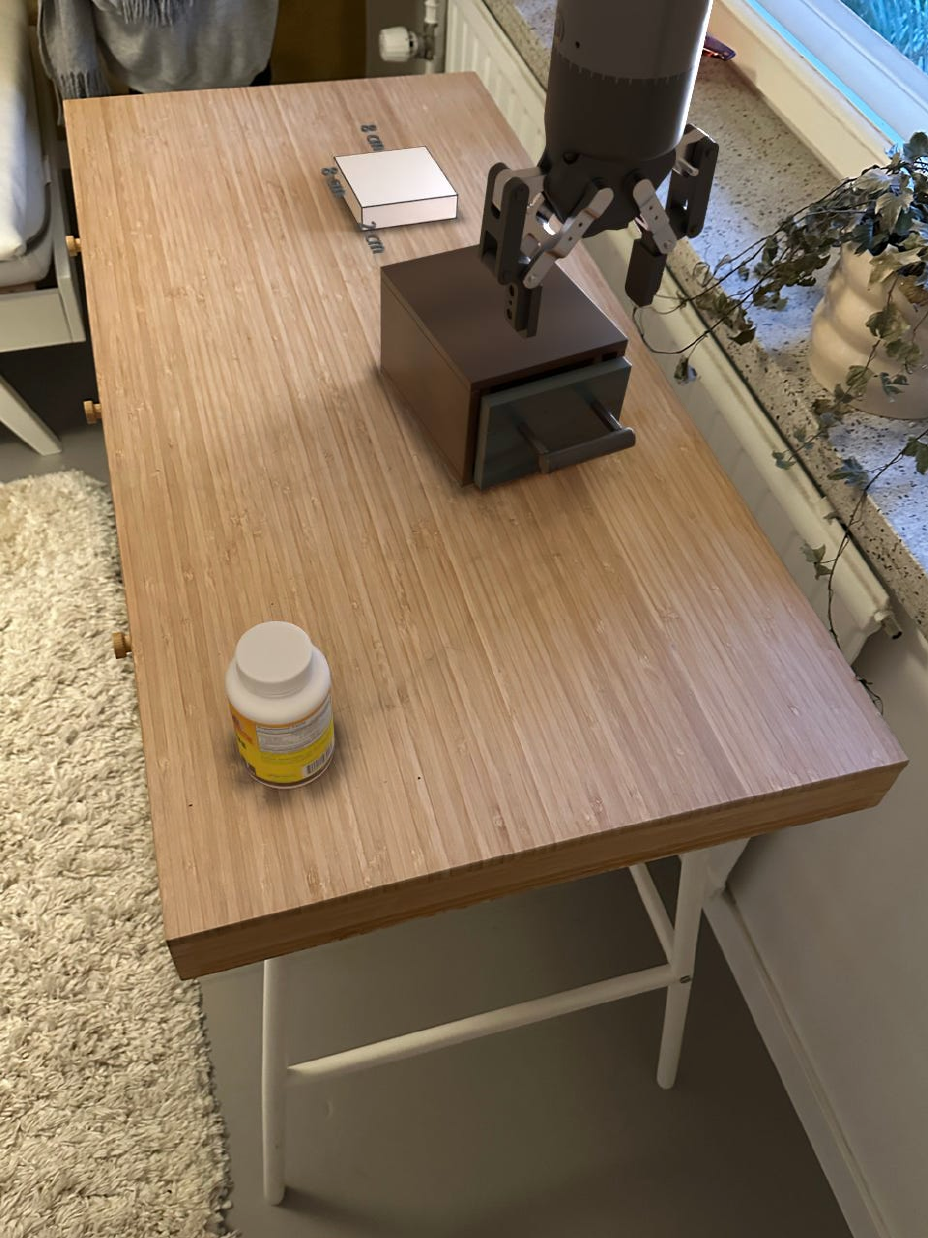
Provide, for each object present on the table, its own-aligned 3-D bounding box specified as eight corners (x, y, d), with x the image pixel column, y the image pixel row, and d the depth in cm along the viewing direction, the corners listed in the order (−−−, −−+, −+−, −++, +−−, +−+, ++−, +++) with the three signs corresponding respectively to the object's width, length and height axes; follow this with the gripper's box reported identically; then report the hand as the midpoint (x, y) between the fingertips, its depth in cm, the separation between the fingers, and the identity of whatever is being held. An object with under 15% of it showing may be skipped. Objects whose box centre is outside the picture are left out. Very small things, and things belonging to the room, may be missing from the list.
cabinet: (605, 441, 79) (628, 338, 72) (461, 487, 75) (470, 383, 68) (514, 335, 87) (527, 232, 80) (380, 371, 83) (379, 266, 75)
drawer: (646, 488, 75) (670, 405, 69) (512, 534, 71) (524, 451, 65) (525, 347, 85) (537, 263, 79) (401, 381, 81) (403, 295, 75)
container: (476, 248, 95) (478, 221, 93) (358, 265, 92) (357, 238, 90) (408, 143, 106) (409, 118, 104) (301, 156, 103) (299, 129, 101)
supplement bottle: (244, 712, 62) (224, 606, 54) (337, 712, 62) (330, 607, 54) (235, 794, 58) (212, 694, 50) (333, 794, 59) (326, 694, 51)
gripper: (543, 93, 47) (511, 378, 60) (784, 48, 52) (707, 321, 64) (468, 29, 51) (453, 308, 64) (698, -8, 56) (642, 259, 68)
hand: (581, 314), depth 64 cm, fingers open, 8 cm apart
